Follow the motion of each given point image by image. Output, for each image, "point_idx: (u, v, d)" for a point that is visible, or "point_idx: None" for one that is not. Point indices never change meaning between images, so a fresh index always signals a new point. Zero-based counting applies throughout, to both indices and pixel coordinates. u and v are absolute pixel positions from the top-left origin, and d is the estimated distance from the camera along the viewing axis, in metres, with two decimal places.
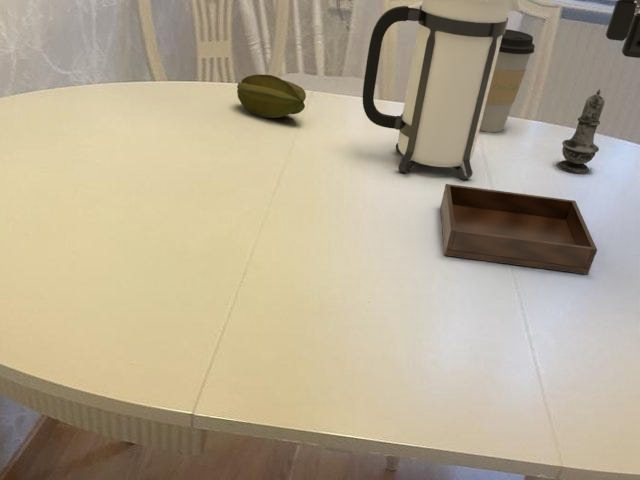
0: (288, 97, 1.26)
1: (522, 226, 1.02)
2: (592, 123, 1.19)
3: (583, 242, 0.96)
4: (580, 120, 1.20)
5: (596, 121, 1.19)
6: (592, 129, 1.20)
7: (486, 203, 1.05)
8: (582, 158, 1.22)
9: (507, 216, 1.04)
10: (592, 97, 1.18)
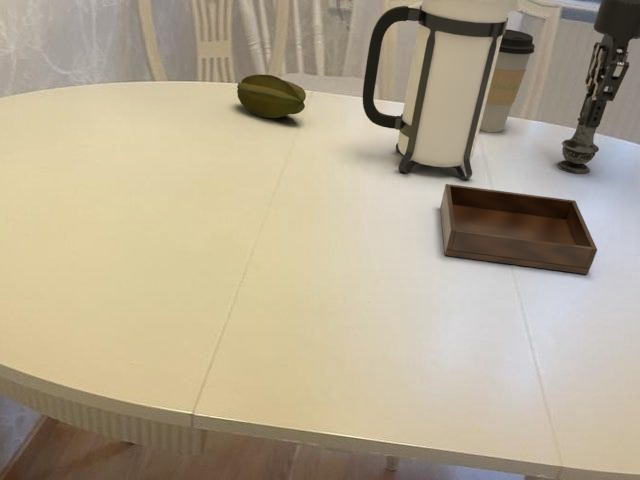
0: (288, 97, 1.26)
1: (522, 226, 1.02)
2: None
3: (583, 242, 0.96)
4: (580, 120, 1.20)
5: None
6: (592, 129, 1.20)
7: (486, 203, 1.05)
8: (582, 158, 1.22)
9: (507, 216, 1.04)
10: None
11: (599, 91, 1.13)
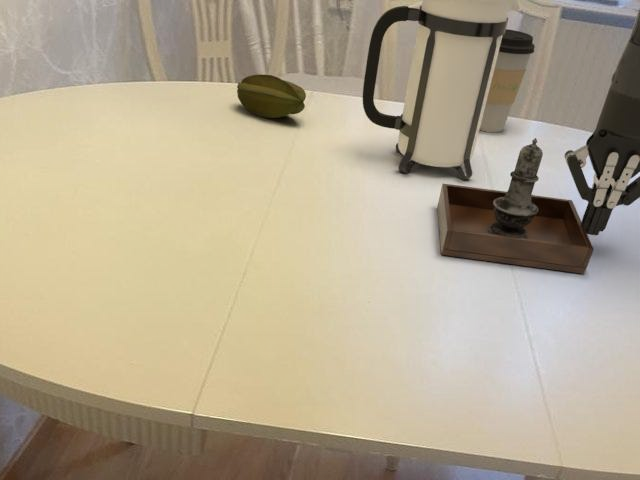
0: (288, 97, 1.26)
1: None
2: (527, 179, 0.94)
3: (580, 242, 0.96)
4: (513, 176, 0.95)
5: (533, 177, 0.94)
6: (529, 187, 0.95)
7: (483, 202, 1.05)
8: (516, 222, 0.97)
9: None
10: (527, 148, 0.93)
11: None
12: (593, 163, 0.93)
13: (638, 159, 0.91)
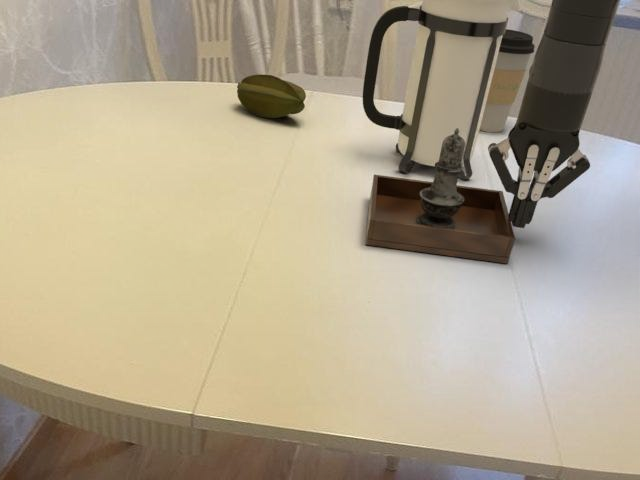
0: (288, 97, 1.26)
1: None
2: (451, 169, 0.94)
3: (504, 232, 0.97)
4: (437, 166, 0.95)
5: (456, 167, 0.95)
6: (453, 177, 0.95)
7: (415, 193, 1.06)
8: (442, 212, 0.97)
9: None
10: (449, 138, 0.93)
11: None
12: (515, 156, 0.93)
13: (558, 151, 0.91)
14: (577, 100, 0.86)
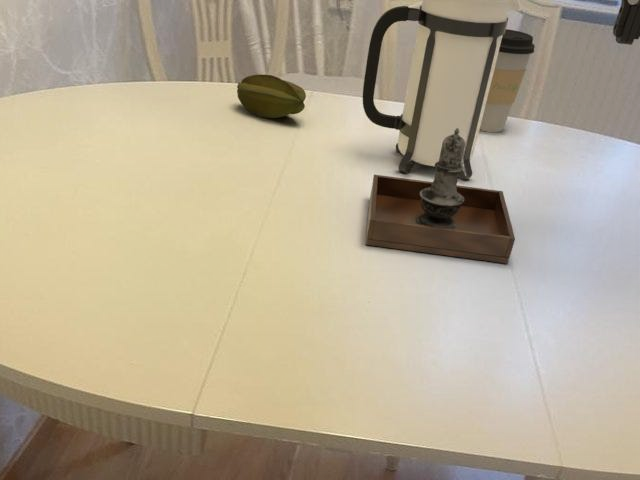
0: (288, 97, 1.26)
1: None
2: (451, 169, 0.94)
3: (504, 232, 0.97)
4: (437, 166, 0.95)
5: (456, 167, 0.95)
6: (453, 177, 0.95)
7: (415, 193, 1.06)
8: (442, 212, 0.97)
9: None
10: (449, 138, 0.93)
11: None
12: None
13: None
14: None
